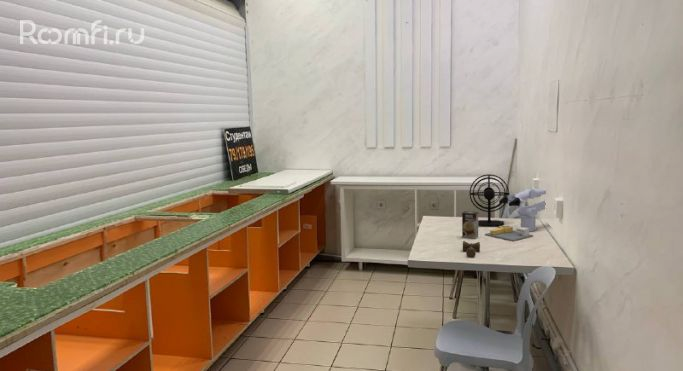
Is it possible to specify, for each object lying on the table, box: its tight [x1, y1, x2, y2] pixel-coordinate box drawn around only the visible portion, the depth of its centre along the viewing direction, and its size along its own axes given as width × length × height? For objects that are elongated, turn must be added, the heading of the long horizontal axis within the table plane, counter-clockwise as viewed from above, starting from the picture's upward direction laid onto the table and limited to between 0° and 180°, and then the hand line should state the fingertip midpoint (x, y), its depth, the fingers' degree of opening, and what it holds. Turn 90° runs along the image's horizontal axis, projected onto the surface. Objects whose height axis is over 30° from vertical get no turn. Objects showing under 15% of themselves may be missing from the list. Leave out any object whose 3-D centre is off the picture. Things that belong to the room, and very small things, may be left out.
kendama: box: [462, 240, 481, 258], centre depth 283 cm, size 6×10×20 cm
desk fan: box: [469, 173, 511, 227], centre depth 351 cm, size 27×18×35 cm, turn 75°
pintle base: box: [484, 224, 534, 242], centre depth 317 cm, size 19×22×5 cm
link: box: [489, 225, 514, 235], centre depth 322 cm, size 16×6×3 cm, turn 123°
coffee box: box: [461, 211, 479, 240], centre depth 318 cm, size 9×6×16 cm
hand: (504, 203), depth 318 cm, fingers open, 7 cm apart
